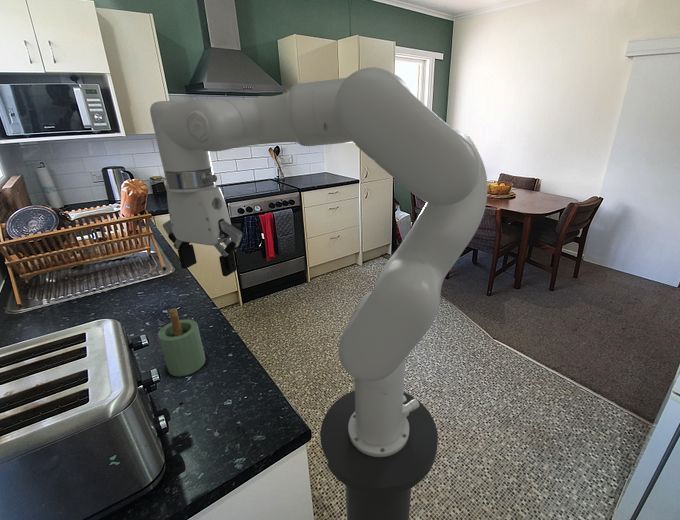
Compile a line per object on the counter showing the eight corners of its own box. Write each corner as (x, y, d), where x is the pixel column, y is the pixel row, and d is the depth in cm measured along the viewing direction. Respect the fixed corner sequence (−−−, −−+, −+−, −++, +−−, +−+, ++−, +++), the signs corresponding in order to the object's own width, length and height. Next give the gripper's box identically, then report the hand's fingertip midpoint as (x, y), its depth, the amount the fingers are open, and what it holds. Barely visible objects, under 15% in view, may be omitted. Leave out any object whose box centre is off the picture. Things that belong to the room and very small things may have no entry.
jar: (201, 349, 96) (193, 315, 92) (208, 367, 89) (200, 331, 85) (165, 361, 92) (155, 326, 87) (170, 381, 85) (160, 345, 81)
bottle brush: (191, 357, 92) (178, 305, 86) (193, 363, 90) (180, 311, 84) (179, 361, 91) (164, 309, 84) (180, 368, 88) (166, 315, 82)
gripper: (246, 178, 60) (259, 268, 66) (170, 173, 65) (189, 256, 72) (215, 187, 53) (233, 285, 60) (134, 180, 59) (158, 271, 66)
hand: (209, 269), depth 66 cm, fingers open, 9 cm apart
